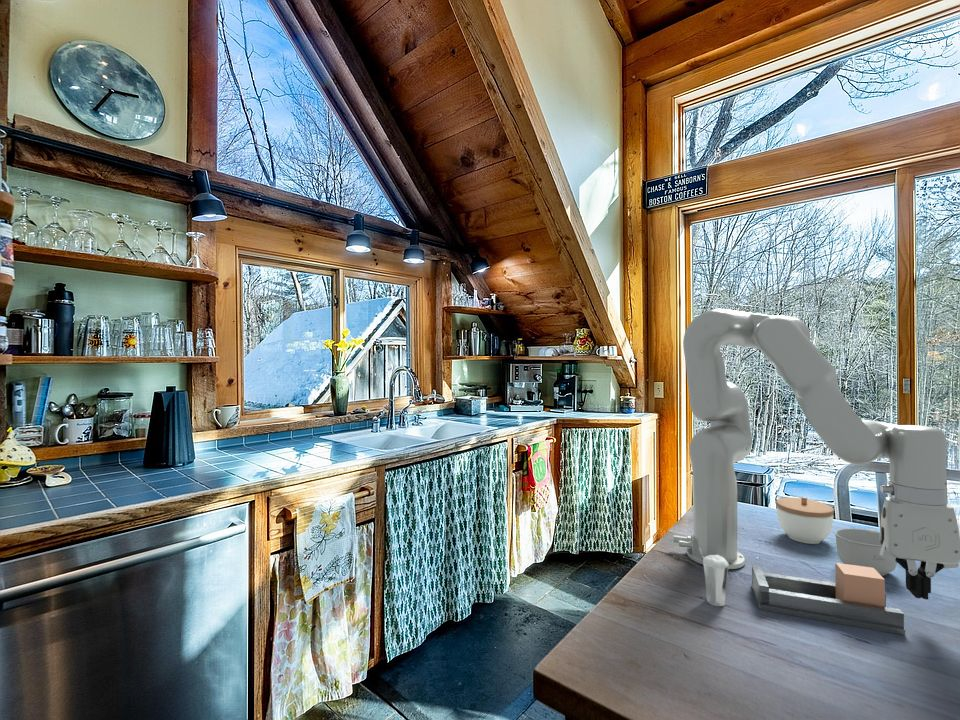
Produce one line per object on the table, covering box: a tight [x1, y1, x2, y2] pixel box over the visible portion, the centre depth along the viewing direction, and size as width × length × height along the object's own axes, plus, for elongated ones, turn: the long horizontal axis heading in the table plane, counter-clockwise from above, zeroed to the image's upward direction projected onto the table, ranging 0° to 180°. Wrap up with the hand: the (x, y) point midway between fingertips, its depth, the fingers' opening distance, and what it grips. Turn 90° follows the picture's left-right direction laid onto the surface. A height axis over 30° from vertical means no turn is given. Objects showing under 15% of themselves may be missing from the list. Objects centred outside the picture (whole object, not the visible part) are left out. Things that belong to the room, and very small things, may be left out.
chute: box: [751, 565, 906, 636], centre depth 90 cm, size 22×10×4 cm, turn 68°
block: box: [834, 562, 886, 607], centre depth 87 cm, size 6×5×7 cm
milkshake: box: [699, 548, 729, 608], centre depth 92 cm, size 5×5×10 cm
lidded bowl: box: [775, 496, 835, 545], centre depth 123 cm, size 13×13×11 cm
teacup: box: [834, 527, 898, 577], centre depth 106 cm, size 14×11×8 cm
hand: (918, 595), depth 84 cm, fingers closed
